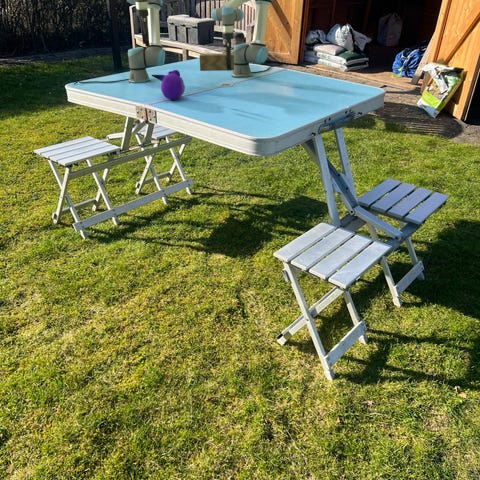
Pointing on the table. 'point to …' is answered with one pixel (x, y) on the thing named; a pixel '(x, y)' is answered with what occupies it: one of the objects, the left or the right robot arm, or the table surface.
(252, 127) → the table surface
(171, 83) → the toy
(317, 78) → the table surface
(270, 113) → the table surface
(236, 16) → the right robot arm
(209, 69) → the box
